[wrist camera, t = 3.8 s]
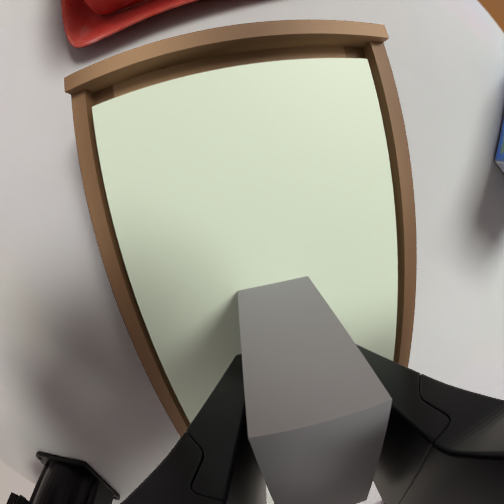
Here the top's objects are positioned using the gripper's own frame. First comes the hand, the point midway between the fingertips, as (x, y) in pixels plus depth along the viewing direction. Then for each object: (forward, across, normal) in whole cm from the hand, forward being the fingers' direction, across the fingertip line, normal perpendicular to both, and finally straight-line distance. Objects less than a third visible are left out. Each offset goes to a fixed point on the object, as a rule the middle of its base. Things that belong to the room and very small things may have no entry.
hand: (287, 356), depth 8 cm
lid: (+1, 0, -2) cm, 3 cm away
